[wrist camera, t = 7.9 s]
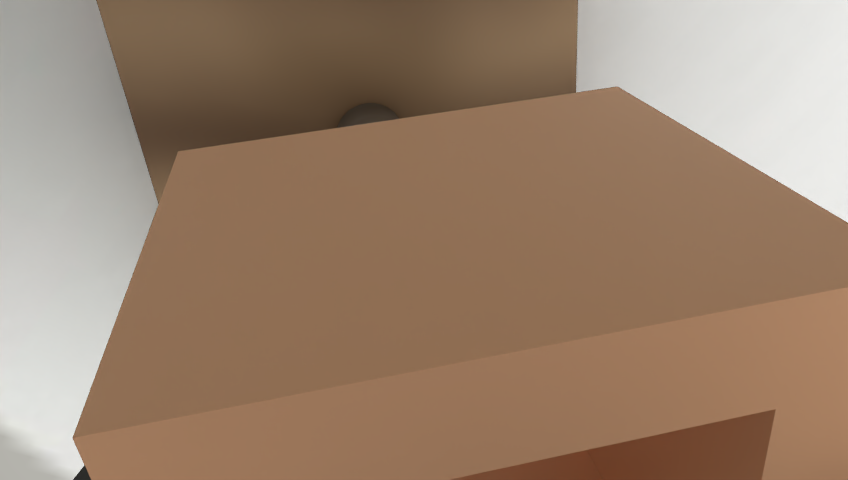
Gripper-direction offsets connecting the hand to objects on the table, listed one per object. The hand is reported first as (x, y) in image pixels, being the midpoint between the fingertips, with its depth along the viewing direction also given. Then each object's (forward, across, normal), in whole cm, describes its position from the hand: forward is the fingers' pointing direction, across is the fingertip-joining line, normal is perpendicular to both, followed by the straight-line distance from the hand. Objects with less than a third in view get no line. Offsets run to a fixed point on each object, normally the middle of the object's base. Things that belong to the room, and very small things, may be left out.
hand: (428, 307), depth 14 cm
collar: (0, 0, 0) cm, 0 cm away
